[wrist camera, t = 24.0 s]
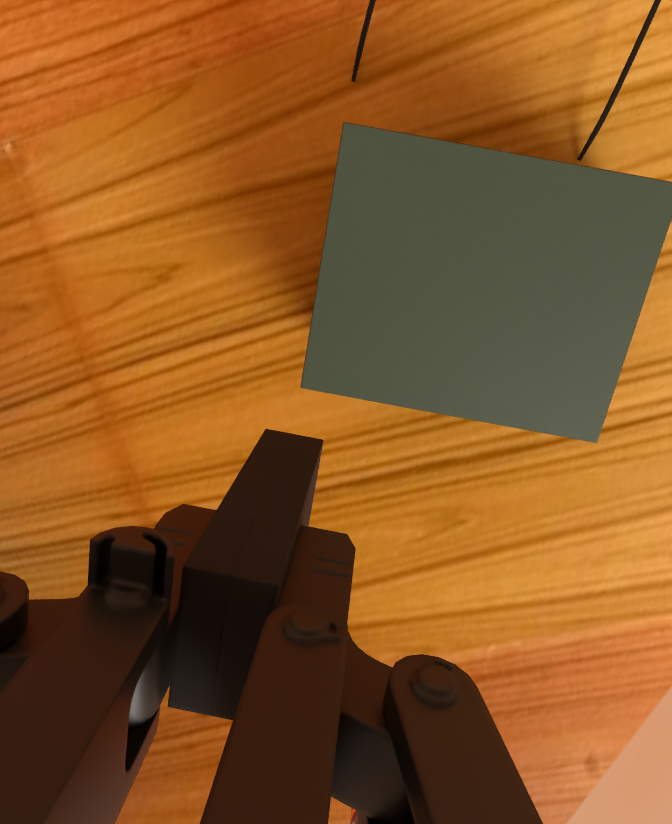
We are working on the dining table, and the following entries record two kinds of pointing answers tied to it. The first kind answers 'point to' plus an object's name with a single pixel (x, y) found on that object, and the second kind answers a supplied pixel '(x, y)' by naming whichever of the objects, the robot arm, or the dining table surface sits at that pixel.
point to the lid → (481, 281)
